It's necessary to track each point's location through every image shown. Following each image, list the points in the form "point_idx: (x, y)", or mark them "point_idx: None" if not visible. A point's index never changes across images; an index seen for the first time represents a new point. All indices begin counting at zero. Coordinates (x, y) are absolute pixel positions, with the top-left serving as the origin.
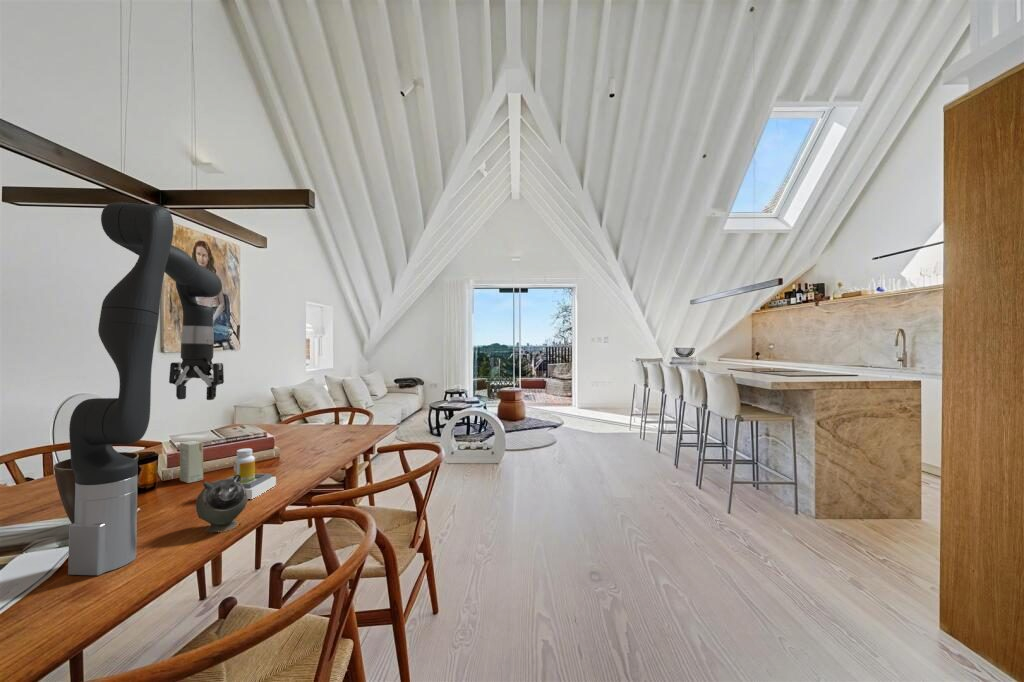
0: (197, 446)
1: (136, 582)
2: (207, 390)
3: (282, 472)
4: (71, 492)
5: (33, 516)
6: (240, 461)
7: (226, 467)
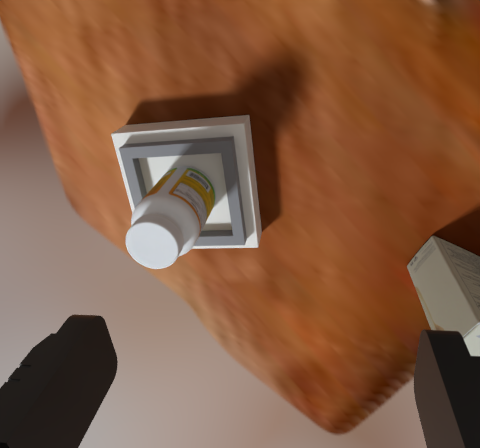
0: None
1: None
2: (29, 397)
3: (224, 335)
4: None
5: None
6: (150, 197)
7: None
